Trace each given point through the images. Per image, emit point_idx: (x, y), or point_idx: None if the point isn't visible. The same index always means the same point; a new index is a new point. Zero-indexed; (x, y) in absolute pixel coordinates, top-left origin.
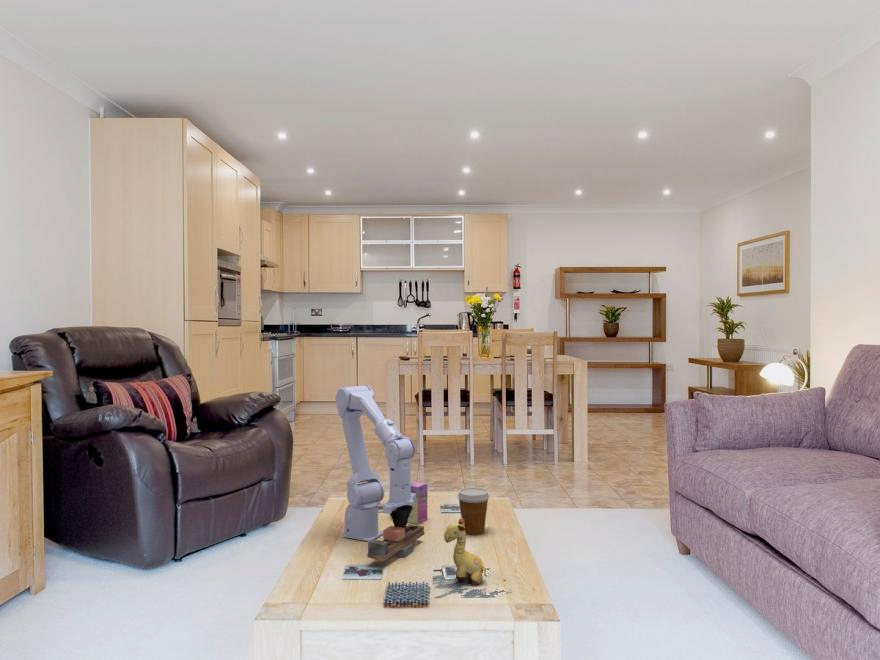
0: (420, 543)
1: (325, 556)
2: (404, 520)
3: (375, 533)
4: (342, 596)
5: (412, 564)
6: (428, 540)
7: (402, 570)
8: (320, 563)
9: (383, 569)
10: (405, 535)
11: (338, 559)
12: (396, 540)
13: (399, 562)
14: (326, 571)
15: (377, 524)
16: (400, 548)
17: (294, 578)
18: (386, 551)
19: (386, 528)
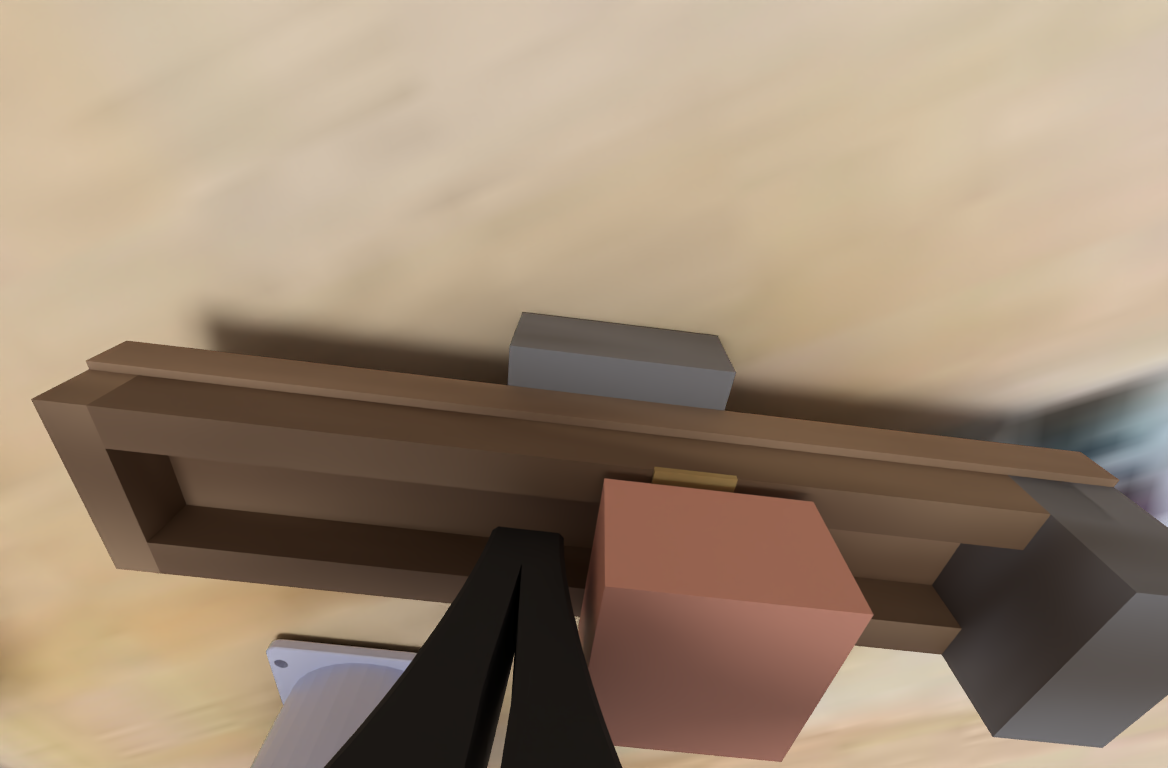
0: (271, 326)
1: None
2: (554, 737)
3: (373, 686)
4: None
5: (892, 180)
6: (137, 277)
7: (1080, 225)
8: (899, 739)
9: (1030, 406)
10: (504, 492)
11: (824, 696)
12: (815, 523)
13: (842, 336)
14: None
15: (310, 753)
16: (737, 421)
17: (1129, 760)
18: (1079, 506)
19: (702, 751)
